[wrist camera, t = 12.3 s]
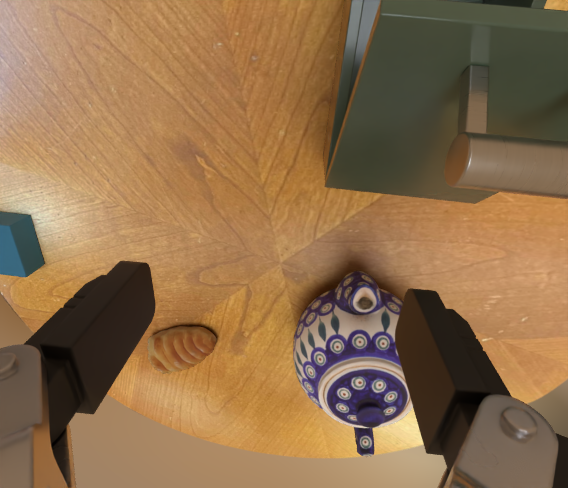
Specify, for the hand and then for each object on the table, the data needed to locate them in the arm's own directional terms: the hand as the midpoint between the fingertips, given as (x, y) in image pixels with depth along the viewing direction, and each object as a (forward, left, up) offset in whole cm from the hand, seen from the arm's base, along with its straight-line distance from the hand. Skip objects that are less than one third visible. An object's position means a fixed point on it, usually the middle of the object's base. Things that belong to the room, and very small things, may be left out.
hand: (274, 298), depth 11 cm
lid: (-4, +8, -11) cm, 14 cm away
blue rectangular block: (+16, -34, -26) cm, 46 cm away
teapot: (+22, +9, -26) cm, 35 cm away
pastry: (+30, -14, -26) cm, 42 cm away
